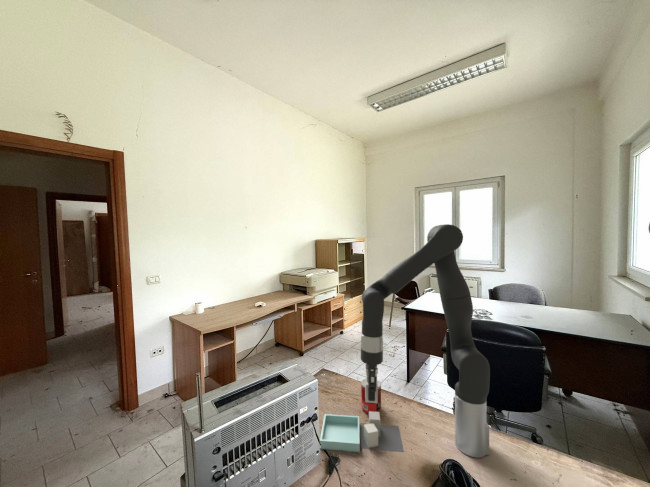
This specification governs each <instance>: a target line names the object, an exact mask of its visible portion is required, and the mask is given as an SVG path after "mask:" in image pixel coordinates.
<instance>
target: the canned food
mask: <svg viewBox="0 0 650 487" xmlns="http://www.w3.org/2000/svg"><path fill="white" fill-rule="evenodd" d="M377 384H378V403H369V402H365V378H363V379H362V380H361V383H360V388H361V393H360V396H361V398H360V399H361V401H360V402H361V409H362V411H363V412H364V413H366V414H368V415H369V411H372V412H379V413H381V411H382V384H381V382H380V380H378V379H377Z"/></svg>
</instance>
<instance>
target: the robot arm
mask: <svg viewBox="0 0 650 487" xmlns="http://www.w3.org/2000/svg"><path fill="white" fill-rule="evenodd" d="M426 238H427V239H426V241H427V242H426V243H425V244H424V245H423V246H422V247H421V248H419V249H418V250H417V251H416V252H414V253H413V254H412V255H410V256H409V257H408V256H407V258H405V259H404V260H402V261H400V262H399V263H398V264H396V265H395V266H393V267H392V268H391V269H390V270H388V272H386V273H385V275H383V276H382V277H381V278H380V279H378V280H376V281H375V282H373V283H372V284H371V285H369V286H368V287H366V288H365V290H364V291H363V292H362V294H361V300H362V313H363V314H362V316H363V317H362V320H361V337H360V360H361V362H363V363H364V364H365V375H366V378H367V382H368V400H369V401H375V392H376V383H377V380H378V374H379V368H378V366H379V365H381V364H382V363H383V361H384V336H383V332H384V331H383V330H384V329H383V327H384V324H383V318H384V313H385V299H387V298H388V297H389V296H390V295H395V294H397V293H399V292H400V291H401V290H402V289H404V288H405V286H407V285H408V284H409V283H410V282H412V281H413V280H414V279H415V278H417V277H418V276H419V275H420V274H422V273H423V271H426V270H427V268H430V266H433V264H434V267H435V273H436V280H437V286H438V290H439V297H440V301H441V306H442V311H443V313H444V318H445V322H446V326H447V329H448V335H449V336H448V337H449V343H450V354H451V360H452V362H453V364H454V366H455V367H456V368H457V370H458V372H459V373H458V375H459V377H458V381H457V382H455V384H454V429H455V430H454V441H455V442H454V443H455V446H456V447H457V448H458V449H459V451H461V452H462V453H463V454H464V455H467V456H469V457H472V458H477V459H479V458H484V457H485V456H490V425H489V424H488V423H489V422H487V398H488V395H489V392H490V385H491V384H490V381H491V380H490V379H491V367H490V363H489V360H488V358H487V357H485V355H484V354H482V353H481V351H479V350H478V349H477V347H476V345H475V341H474V338H473V333H472V321H473V316H474V305H473V300H472V296H471V291H470V288H469V285H468V284H467V283H468V282H467V281H466V279H465V276H464V275H463V273H462V272H461V269H460V267H459V266H458V262H457V258H456V252H455V251H456V250H458V249H459V248H460V247H461V246H462V244H463V240H464V233H463V232H462V230H461V229H460V228H459V227H458V226H456V225H454V224H448V223H447V224H440V225H435V226H433V227H431V229H430V230H429V231H428V233H427V237H426Z"/></svg>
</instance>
